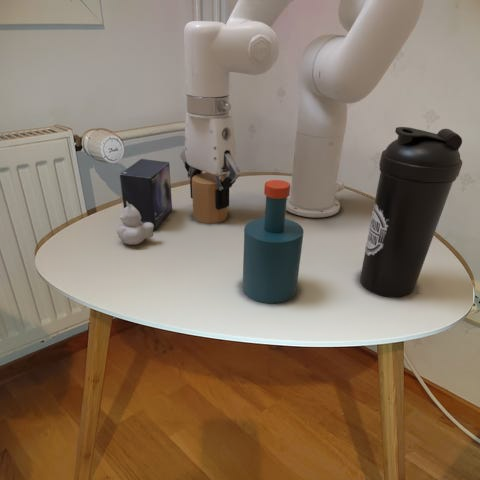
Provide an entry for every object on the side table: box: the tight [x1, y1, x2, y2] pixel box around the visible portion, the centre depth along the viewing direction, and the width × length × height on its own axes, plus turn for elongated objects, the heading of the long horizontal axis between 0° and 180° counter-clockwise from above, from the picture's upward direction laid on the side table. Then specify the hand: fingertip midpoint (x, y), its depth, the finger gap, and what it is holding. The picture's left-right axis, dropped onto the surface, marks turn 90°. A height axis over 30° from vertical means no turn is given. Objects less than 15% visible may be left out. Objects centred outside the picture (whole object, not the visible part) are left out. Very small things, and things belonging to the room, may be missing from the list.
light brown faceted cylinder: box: [192, 172, 228, 224], centre depth 85 cm, size 7×7×8 cm
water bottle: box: [359, 126, 463, 299], centre depth 61 cm, size 10×10×23 cm
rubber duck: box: [116, 201, 154, 246], centre depth 74 cm, size 5×7×8 cm
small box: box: [119, 158, 173, 231], centre depth 82 cm, size 11×6×10 cm, turn 168°
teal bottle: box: [242, 179, 305, 304], centre depth 60 cm, size 8×8×16 cm
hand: (209, 201), depth 85 cm, fingers closed on light brown faceted cylinder, 6 cm apart
